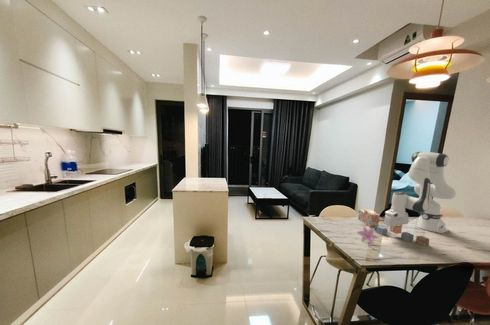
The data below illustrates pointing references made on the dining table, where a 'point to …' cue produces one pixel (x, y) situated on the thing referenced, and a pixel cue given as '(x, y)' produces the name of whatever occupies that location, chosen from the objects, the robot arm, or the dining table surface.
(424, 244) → the walnut cube
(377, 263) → the dining table surface
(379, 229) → the slate blue cube
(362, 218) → the stack of blocks
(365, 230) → the lily
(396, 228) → the terracotta cube
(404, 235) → the charcoal cube
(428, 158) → the robot arm
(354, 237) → the dining table surface
